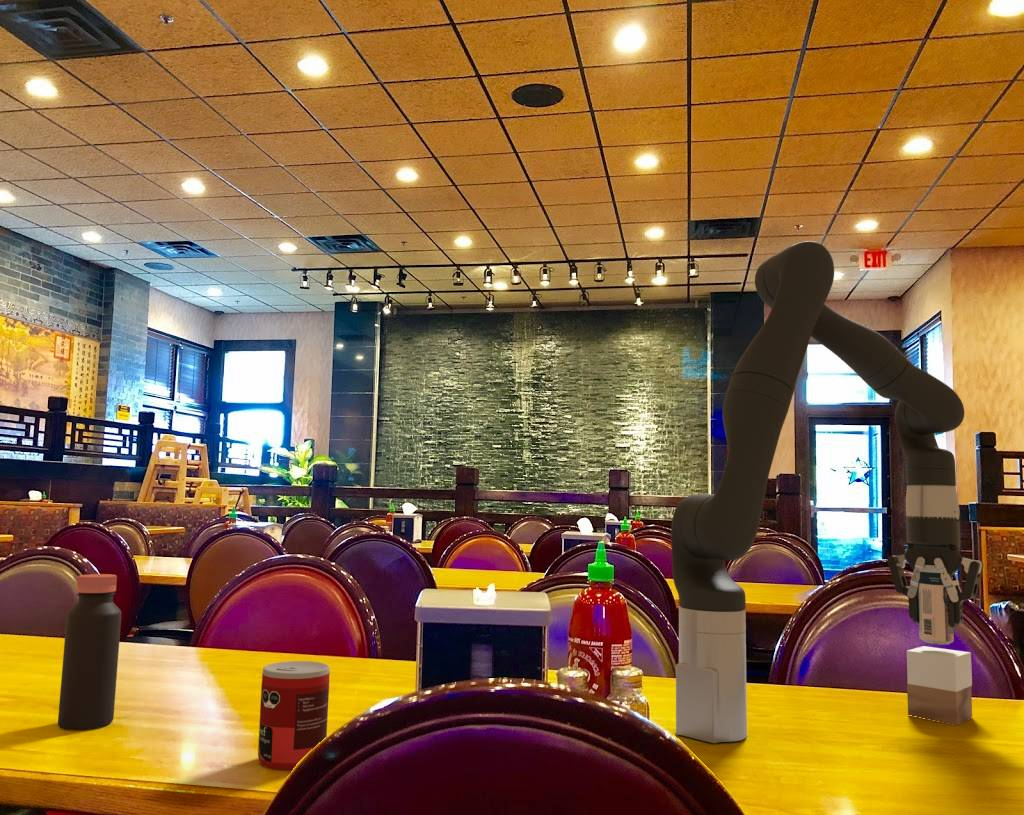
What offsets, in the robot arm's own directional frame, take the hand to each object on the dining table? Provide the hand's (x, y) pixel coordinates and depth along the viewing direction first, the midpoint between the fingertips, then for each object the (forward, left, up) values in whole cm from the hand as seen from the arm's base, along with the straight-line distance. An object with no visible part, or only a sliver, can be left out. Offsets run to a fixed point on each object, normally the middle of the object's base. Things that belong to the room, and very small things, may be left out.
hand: (935, 623), depth 128 cm
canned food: (-86, +45, -14) cm, 98 cm away
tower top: (0, 0, -9) cm, 9 cm away
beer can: (0, 0, -3) cm, 3 cm away
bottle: (-99, +77, -14) cm, 126 cm away
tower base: (0, 0, -14) cm, 14 cm away
